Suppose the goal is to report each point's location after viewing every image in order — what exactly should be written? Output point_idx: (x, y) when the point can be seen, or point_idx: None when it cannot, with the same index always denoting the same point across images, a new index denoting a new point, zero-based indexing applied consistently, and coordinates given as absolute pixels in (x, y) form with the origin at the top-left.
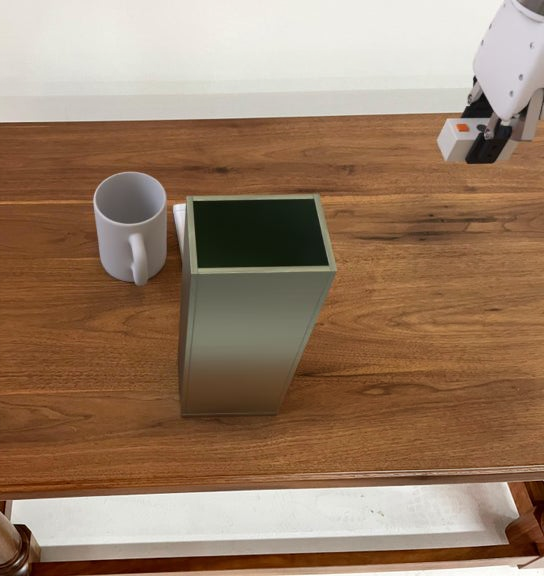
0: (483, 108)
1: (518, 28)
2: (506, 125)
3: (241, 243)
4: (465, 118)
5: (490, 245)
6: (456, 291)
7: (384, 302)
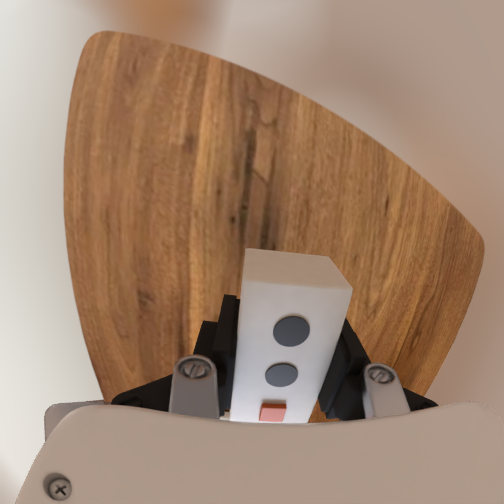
0: (226, 386)
1: None
2: (282, 308)
3: None
4: (234, 395)
5: (297, 158)
6: (357, 236)
7: (349, 317)
